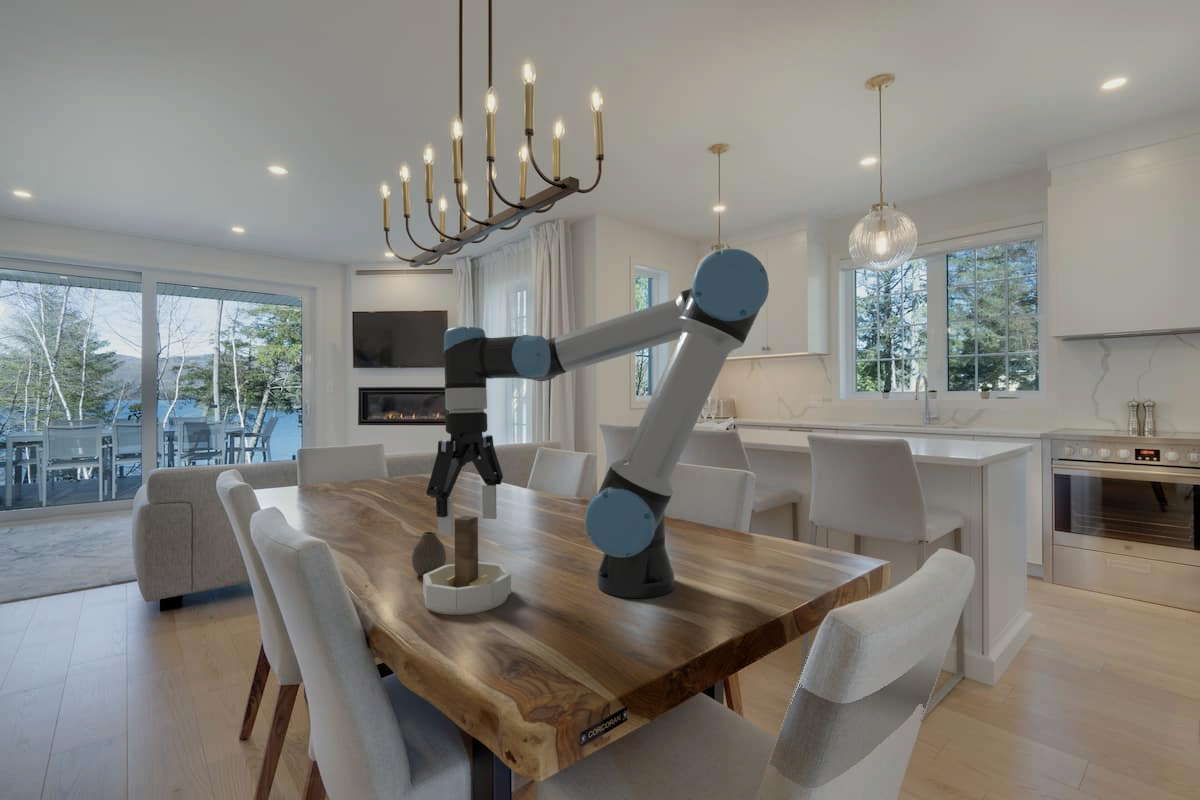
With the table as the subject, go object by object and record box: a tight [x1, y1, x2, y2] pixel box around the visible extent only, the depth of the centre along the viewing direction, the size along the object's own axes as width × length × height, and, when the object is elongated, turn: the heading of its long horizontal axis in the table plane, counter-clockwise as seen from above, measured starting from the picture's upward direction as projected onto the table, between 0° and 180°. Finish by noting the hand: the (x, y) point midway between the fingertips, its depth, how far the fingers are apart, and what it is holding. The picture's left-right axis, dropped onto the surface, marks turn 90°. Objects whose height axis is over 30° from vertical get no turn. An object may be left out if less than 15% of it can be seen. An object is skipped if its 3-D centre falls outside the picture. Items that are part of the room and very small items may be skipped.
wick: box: [454, 515, 479, 588], centre depth 100 cm, size 3×3×14 cm
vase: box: [411, 531, 447, 578], centre depth 114 cm, size 7×7×9 cm
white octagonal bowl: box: [422, 561, 512, 616], centre depth 100 cm, size 15×15×4 cm
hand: (469, 526), depth 99 cm, fingers open, 13 cm apart
